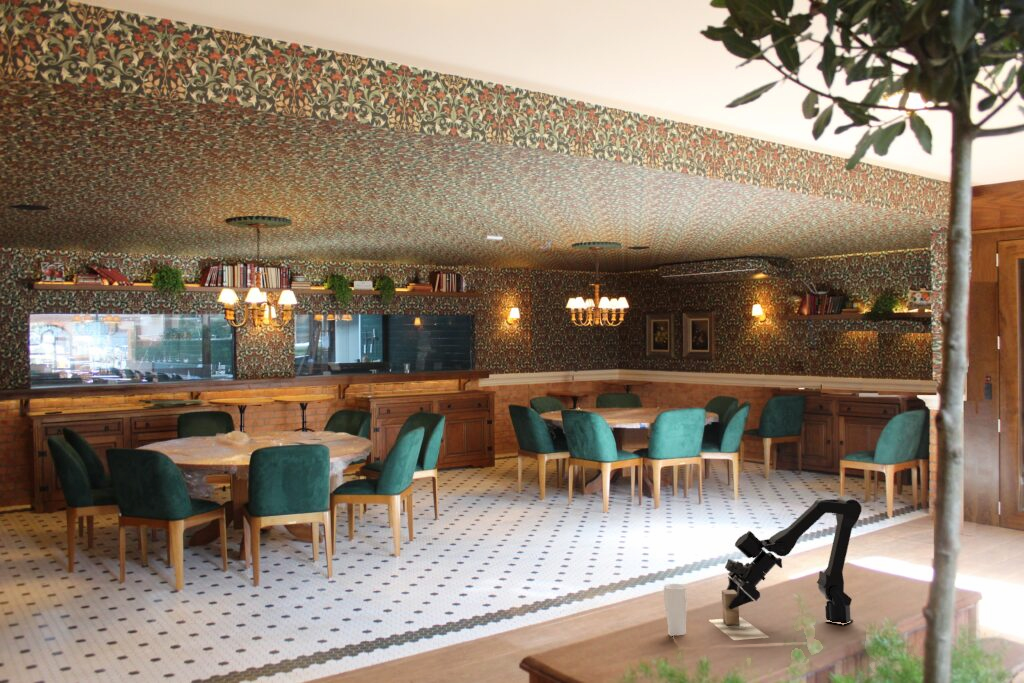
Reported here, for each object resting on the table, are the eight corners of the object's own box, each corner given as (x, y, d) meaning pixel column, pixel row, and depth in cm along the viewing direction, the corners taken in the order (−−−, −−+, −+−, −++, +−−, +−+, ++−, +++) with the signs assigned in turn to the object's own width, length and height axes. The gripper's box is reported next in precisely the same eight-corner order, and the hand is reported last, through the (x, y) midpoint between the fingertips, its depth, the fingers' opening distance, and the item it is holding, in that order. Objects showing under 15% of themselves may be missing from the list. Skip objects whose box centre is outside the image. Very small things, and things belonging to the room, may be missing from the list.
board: (708, 622, 275) (708, 619, 275) (740, 619, 276) (740, 617, 276) (733, 642, 253) (733, 640, 253) (769, 639, 254) (769, 637, 254)
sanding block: (735, 621, 272) (734, 589, 272) (739, 625, 267) (737, 593, 267) (723, 621, 272) (721, 590, 273) (726, 626, 267) (725, 594, 268)
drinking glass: (675, 640, 258) (672, 590, 259) (661, 634, 264) (659, 585, 265) (693, 636, 261) (690, 586, 262) (679, 630, 267) (676, 582, 268)
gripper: (733, 545, 280) (701, 580, 280) (747, 556, 261) (713, 594, 261) (758, 568, 279) (726, 603, 279) (774, 581, 261) (740, 619, 260)
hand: (726, 604), depth 270 cm, fingers open, 9 cm apart
